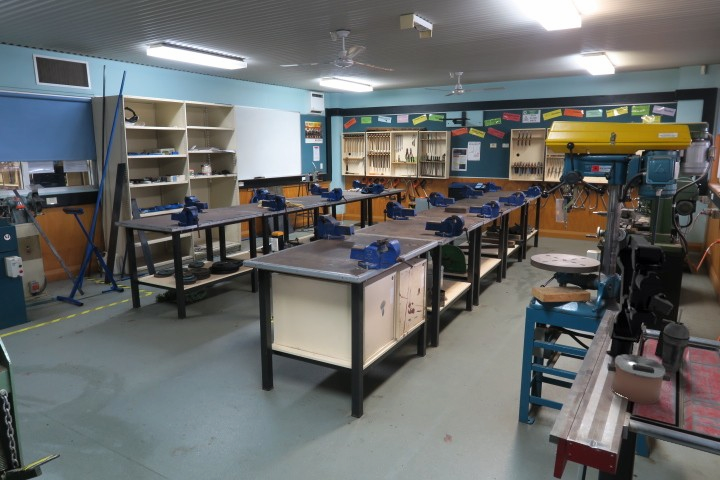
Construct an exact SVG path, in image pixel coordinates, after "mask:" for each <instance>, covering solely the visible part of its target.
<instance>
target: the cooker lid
mask: <svg viewBox="0 0 720 480" xmlns="http://www.w3.org/2000/svg"><path fill="white" fill-rule="evenodd" d="M614 364H616V365H617V366H618V367H619V368H620V369H622V370H623V371H625V372H628V373H630V374H633V375H636V376H640V377H645V378H660V377H663V376H664V375H665V373H666V370H665V368H664V367H663V366H662V363H660V362H658V361H656V360H654V359H651V358H648V357H646V356H641V355H636V354H632V355H630V354H623V355H618V356H617V357H616V358H615V357H614Z"/></svg>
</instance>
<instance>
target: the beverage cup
mask: <svg viewBox="0 0 720 480" xmlns="http://www.w3.org/2000/svg"><path fill="white" fill-rule="evenodd" d="M682 314H683V308H680V310H679V316H678V320H677V321H676V322H673V323H670V324H668V325H667V326H666V327H665V328H664V331H663V339H664V341H663V353H662V357H661V365H662V366H663V367H664V368H665V371H668V372H674V373H675V372H679V368H680V367H681V363H682V360H683V358H684V353H685V349H686V348H687V345H688V344H689V341H690V340H691V339H690V331H689V329H688V327H687V326H686V325H685V324H684V325H683V324H681V323H682V322H681V319H682ZM680 322H681V323H680Z"/></svg>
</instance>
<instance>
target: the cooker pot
mask: <svg viewBox="0 0 720 480" xmlns="http://www.w3.org/2000/svg"><path fill="white" fill-rule="evenodd" d="M606 367H607V368H606V369H607V371H608V372H613V375H612V381H611V387H612V388H611V390H612V389H613V390H614V391H615V392H616V393H618V394H620V395H622V396H624V397H627V398H628V400H627V401H628V402H633V403H634V404H635V403H636V404H641V405H654V404H657V403H658V402H659V401H660V396H661V390H662V386H663V381H665V382H670V383H671V379H672V376H671V375H670V373H667V372H665V375H664V376H663V377H660V378H645V377H640V376H636V375H633V374H630V373H628V372H625V371H623V370H622V369H620V368H619V367H618V366H617V365H616V364H615V363H607V366H606ZM613 390H612V391H613ZM616 393H615V394H616Z"/></svg>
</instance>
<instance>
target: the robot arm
mask: <svg viewBox="0 0 720 480" xmlns="http://www.w3.org/2000/svg"><path fill="white" fill-rule="evenodd" d="M662 249H663V248H662V247H661V246H659V245H654V244H651V243H649V241H648V240H647V238H646V235H642V234H635V233H634V234H633V233H630V234H627V236H626V238H624V239H622V240H619V242H618V243H617V245H616V247H615V257H616V264H617V265H618V267H619V269H620V271H621V275H620V276H621V277H620V278H621V279H620V296H619V297H620V298H619V299H620V300H619V312H618V313H617V314H616V315H615V316H614V318H613V321H612V322H611V323H610V326H609V327H608V336H609V338H610V340H611V341H610V342H611V343H610V348H609V350H606V351H605V353H606V354H608V355H610V356H612V357H613V356H614V359H615V358H616V357H617V356H618V355H623V354H630V355H634V353H633V352H634V348H635V343H636V344H639V343H640V342H641V336H642V334H643V332H644V330H643V328H642V327H643V326H642V325H643V323H644V324H648V325H649V324H650V325H657V320H658V318H657V316H656V315H655V313H654V312H653V310H656V311H658V312H661V313H663V314H664V315H665V316H668V315H670V312H671V311H672V310H673V308H674V304H673V303H671V302H670V301H669V300H667V296H666V295H665V294H664V293H662V291H663V289H664V286H663V285H664V284H663V282H662V280H661V279H660V278H659V277H658V273H662V274H663V273H665V269H666V268H667V265H666V263H667V261H666V254H665V252H664V250H662Z"/></svg>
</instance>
